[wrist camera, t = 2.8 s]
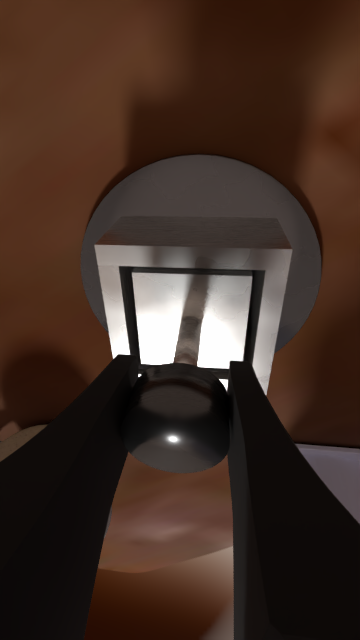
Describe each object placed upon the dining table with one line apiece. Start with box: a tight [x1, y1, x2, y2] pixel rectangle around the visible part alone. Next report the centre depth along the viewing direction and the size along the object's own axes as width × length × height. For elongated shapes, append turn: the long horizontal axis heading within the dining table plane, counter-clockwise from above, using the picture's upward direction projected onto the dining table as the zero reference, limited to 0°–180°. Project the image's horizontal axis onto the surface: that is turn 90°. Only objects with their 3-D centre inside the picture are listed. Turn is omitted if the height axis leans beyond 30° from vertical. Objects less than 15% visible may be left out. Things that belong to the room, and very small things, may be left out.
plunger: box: [120, 266, 253, 473], centre depth 11 cm, size 5×5×6 cm
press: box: [81, 154, 321, 395], centre depth 15 cm, size 12×12×4 cm
